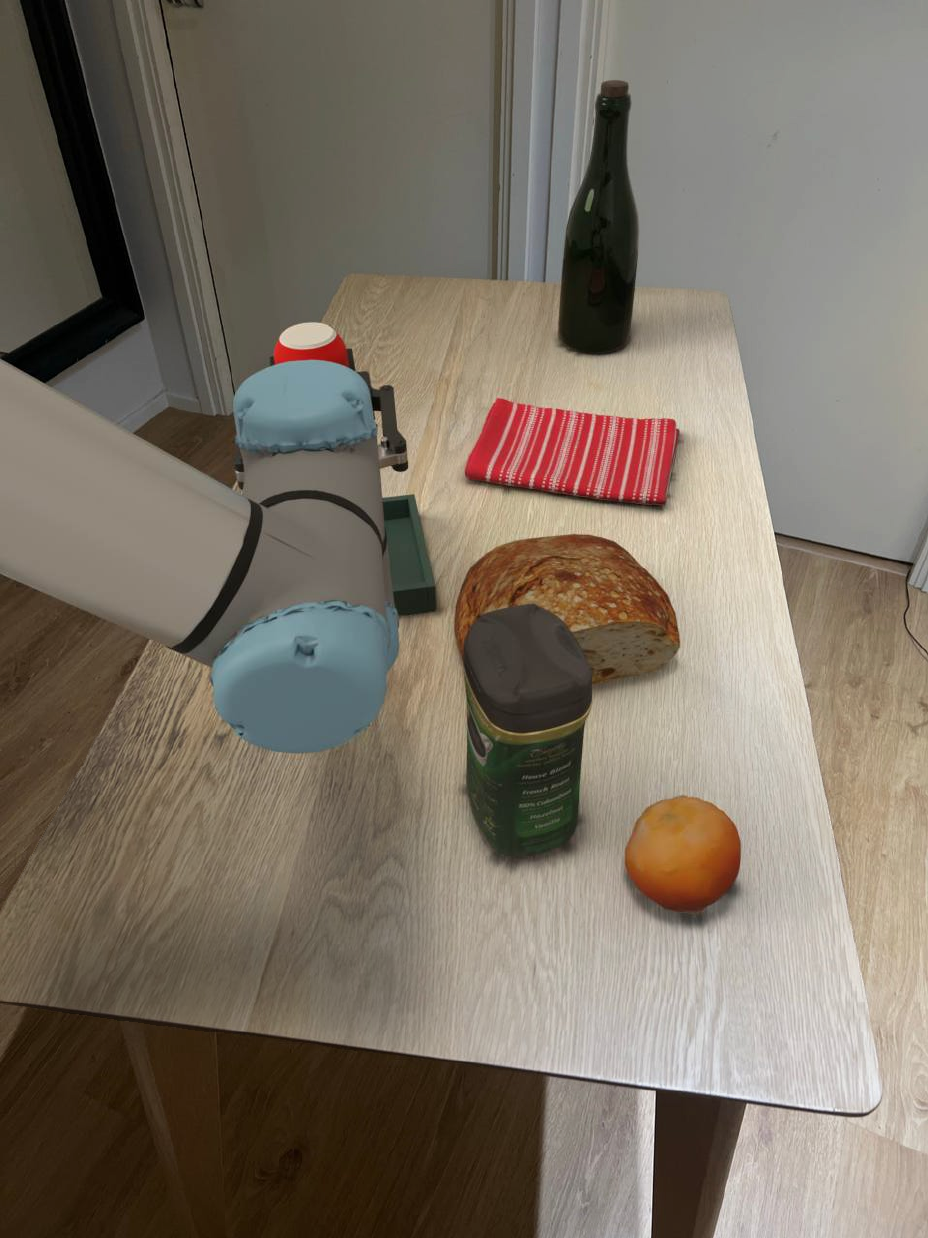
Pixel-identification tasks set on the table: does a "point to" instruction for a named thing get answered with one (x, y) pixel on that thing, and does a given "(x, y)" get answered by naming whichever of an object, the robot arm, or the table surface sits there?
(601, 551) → the bread
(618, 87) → the wine bottle
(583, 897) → the table surface
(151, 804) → the table surface
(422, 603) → the drinks tray
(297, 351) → the beverage can
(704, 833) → the fruit
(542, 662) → the coffee jar
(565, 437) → the dish towel
